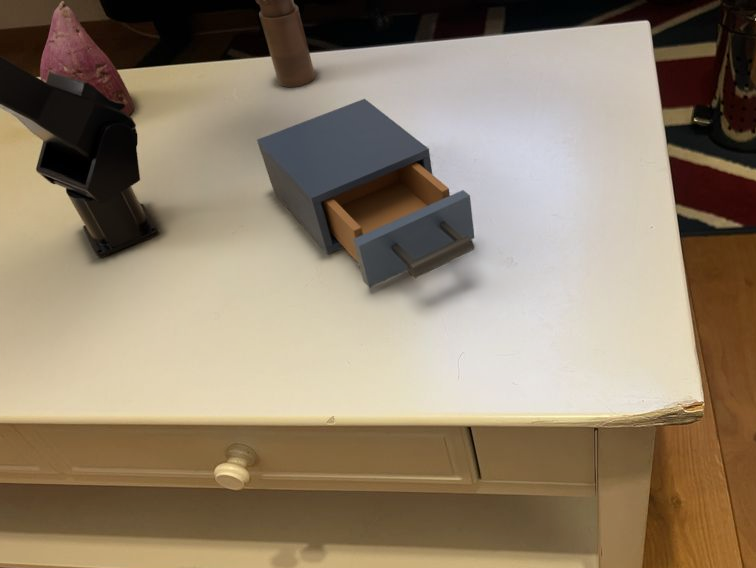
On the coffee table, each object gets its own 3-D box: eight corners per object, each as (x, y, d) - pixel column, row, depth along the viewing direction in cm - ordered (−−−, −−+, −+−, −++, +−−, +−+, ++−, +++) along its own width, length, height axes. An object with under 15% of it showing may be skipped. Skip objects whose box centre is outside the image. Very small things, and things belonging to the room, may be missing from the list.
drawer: (501, 261, 66) (498, 218, 63) (393, 315, 63) (383, 272, 59) (409, 181, 77) (402, 141, 73) (312, 223, 73) (299, 183, 70)
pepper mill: (321, 78, 98) (293, -34, 88) (287, 91, 96) (255, -22, 86) (306, 66, 101) (277, -44, 91) (272, 78, 99) (240, -32, 89)
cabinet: (437, 205, 75) (429, 148, 70) (327, 254, 71) (311, 198, 66) (375, 152, 83) (364, 98, 79) (274, 193, 79) (256, 139, 74)
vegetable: (113, 113, 103) (80, -4, 96) (153, 120, 98) (122, -4, 90) (38, 129, 96) (-4, 4, 89) (78, 138, 91) (37, 5, 83)
